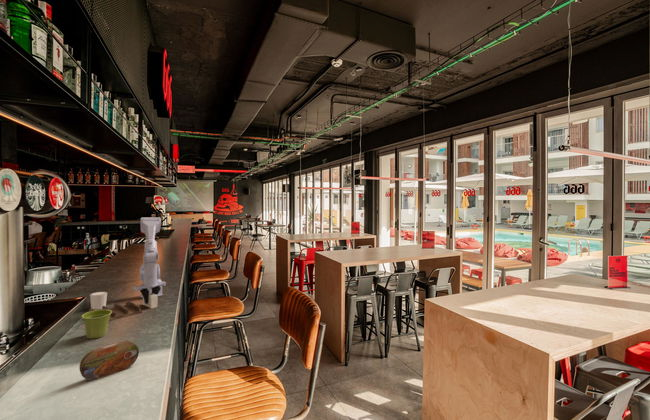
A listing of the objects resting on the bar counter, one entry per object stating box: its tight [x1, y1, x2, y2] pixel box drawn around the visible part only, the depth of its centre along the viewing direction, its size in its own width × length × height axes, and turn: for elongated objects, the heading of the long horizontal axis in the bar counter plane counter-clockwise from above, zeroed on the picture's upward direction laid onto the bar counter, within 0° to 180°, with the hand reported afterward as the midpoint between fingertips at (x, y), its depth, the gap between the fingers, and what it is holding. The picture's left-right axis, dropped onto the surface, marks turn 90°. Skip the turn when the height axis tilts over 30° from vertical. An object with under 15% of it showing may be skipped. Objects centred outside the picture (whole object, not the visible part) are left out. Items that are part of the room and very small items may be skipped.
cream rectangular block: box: [142, 292, 159, 309], centre depth 154 cm, size 3×9×6 cm, turn 55°
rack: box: [88, 300, 143, 322], centre depth 141 cm, size 17×14×3 cm
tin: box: [78, 340, 140, 381], centre depth 94 cm, size 15×3×8 cm, turn 139°
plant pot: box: [81, 309, 112, 340], centre depth 118 cm, size 9×9×9 cm
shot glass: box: [89, 291, 108, 310], centre depth 149 cm, size 7×7×7 cm
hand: (150, 302), depth 154 cm, fingers closed on cream rectangular block, 3 cm apart
